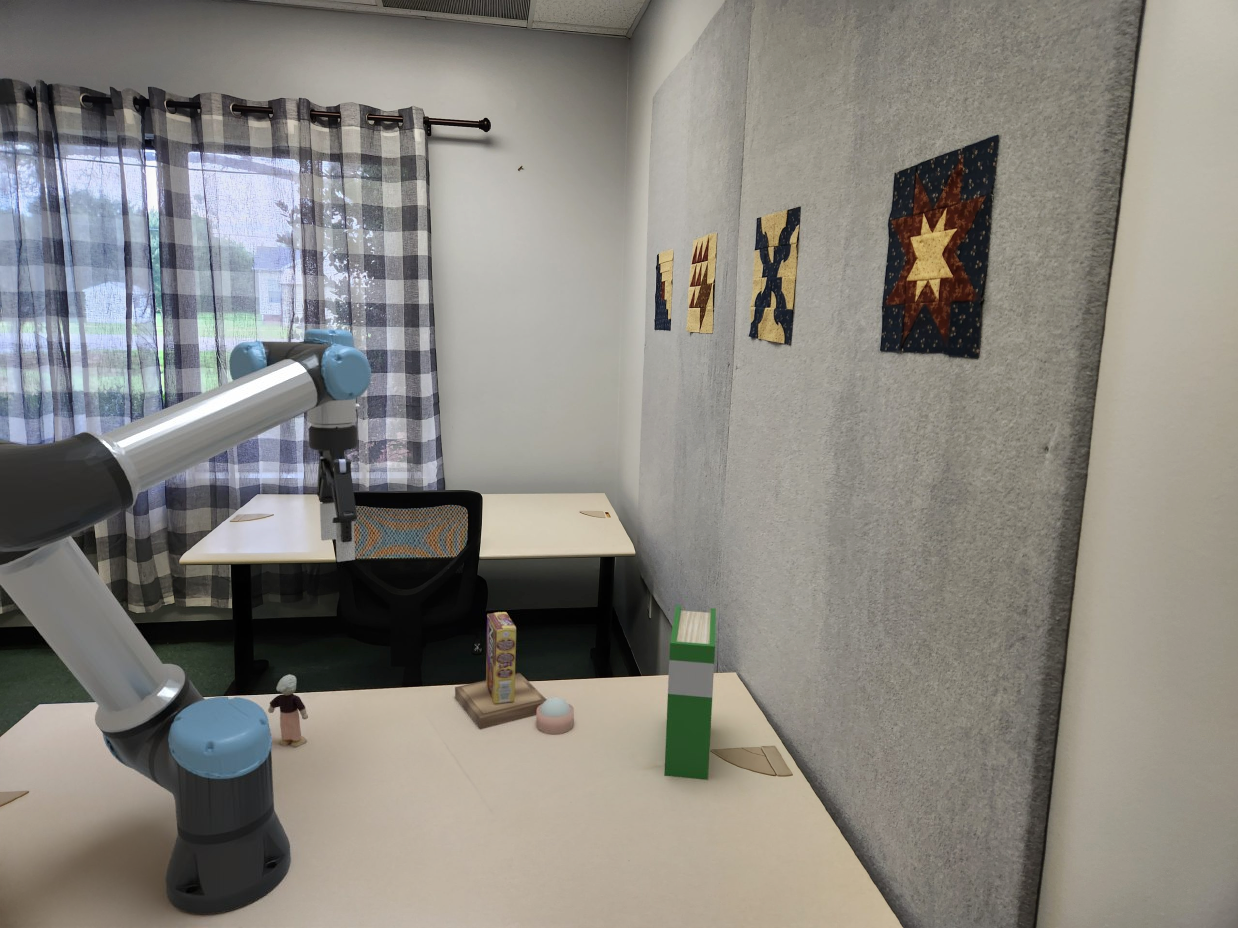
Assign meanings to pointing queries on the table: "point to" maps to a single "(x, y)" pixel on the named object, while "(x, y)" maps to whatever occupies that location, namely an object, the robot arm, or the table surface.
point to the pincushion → (555, 716)
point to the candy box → (500, 657)
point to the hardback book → (690, 694)
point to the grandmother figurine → (289, 711)
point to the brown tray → (490, 714)
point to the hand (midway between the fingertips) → (337, 549)
